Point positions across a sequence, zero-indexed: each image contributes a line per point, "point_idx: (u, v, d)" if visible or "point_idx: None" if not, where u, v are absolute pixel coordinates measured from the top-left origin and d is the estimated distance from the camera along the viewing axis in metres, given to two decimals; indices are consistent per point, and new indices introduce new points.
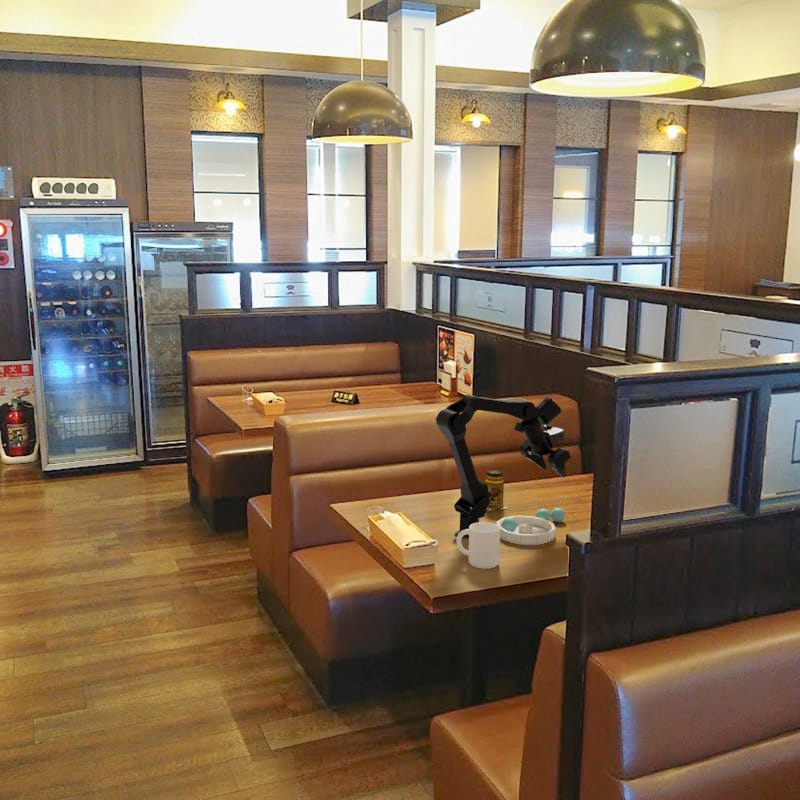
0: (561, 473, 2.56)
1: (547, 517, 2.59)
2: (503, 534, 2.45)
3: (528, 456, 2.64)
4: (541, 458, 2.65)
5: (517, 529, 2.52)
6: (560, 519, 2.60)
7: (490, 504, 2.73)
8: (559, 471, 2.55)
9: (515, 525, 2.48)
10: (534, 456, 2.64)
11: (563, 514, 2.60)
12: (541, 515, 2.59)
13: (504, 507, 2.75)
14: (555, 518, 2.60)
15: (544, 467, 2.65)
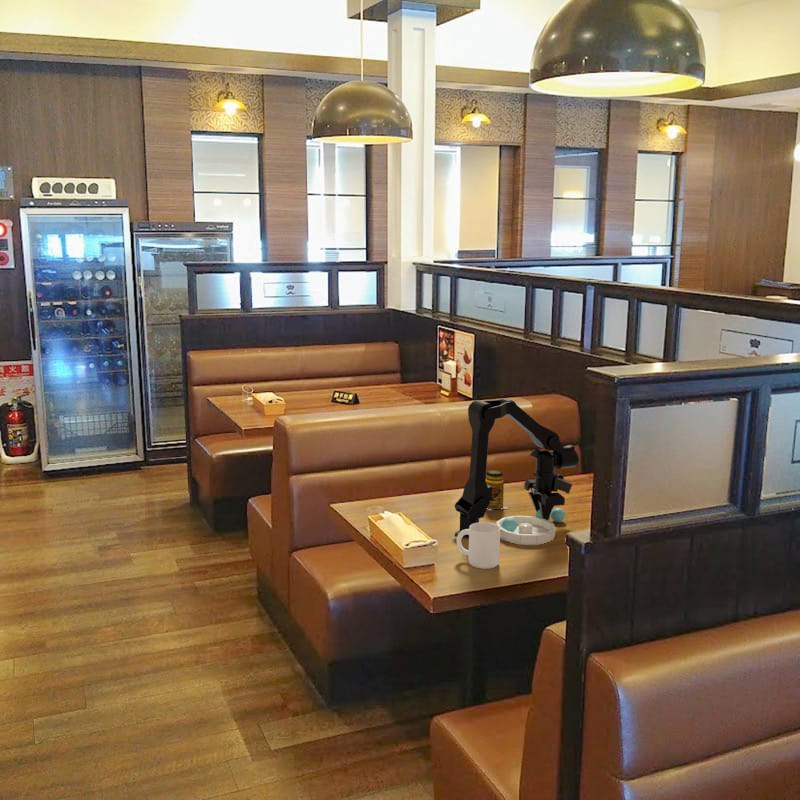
0: (544, 515, 2.57)
1: None
2: (503, 534, 2.45)
3: (531, 494, 2.62)
4: None
5: (517, 529, 2.52)
6: (560, 519, 2.60)
7: (490, 504, 2.73)
8: (543, 511, 2.56)
9: (515, 525, 2.48)
10: (536, 497, 2.62)
11: (563, 514, 2.60)
12: (541, 515, 2.59)
13: (504, 507, 2.75)
14: (555, 518, 2.60)
15: None
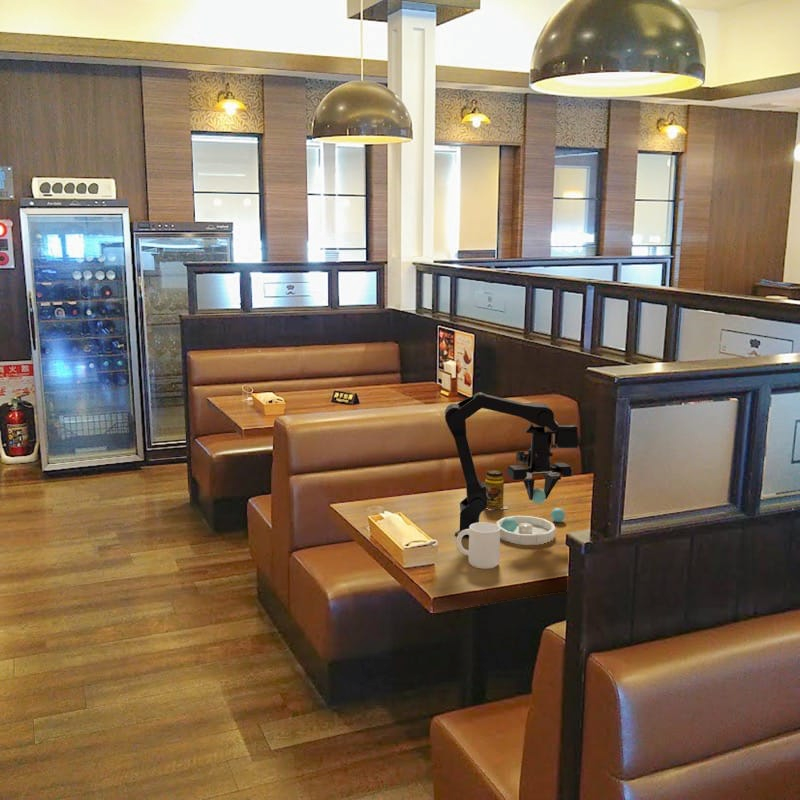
0: None
1: None
2: (503, 534, 2.45)
3: (531, 479, 2.43)
4: None
5: (517, 529, 2.52)
6: (560, 519, 2.60)
7: (490, 504, 2.73)
8: None
9: (515, 525, 2.48)
10: None
11: (563, 514, 2.60)
12: (545, 494, 2.46)
13: (504, 507, 2.75)
14: (555, 518, 2.60)
15: None
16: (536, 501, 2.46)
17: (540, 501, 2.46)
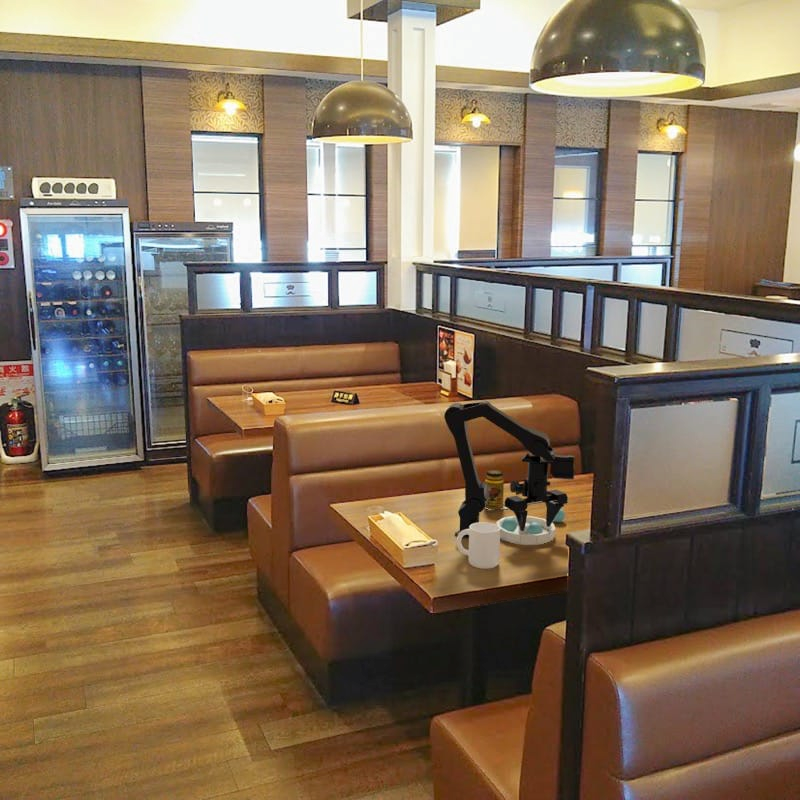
0: None
1: None
2: (503, 534, 2.45)
3: (524, 511, 2.39)
4: None
5: (517, 529, 2.52)
6: (560, 519, 2.60)
7: (490, 504, 2.73)
8: None
9: (515, 525, 2.48)
10: None
11: (563, 514, 2.60)
12: (542, 528, 2.45)
13: (504, 507, 2.75)
14: (555, 518, 2.60)
15: None
16: None
17: None
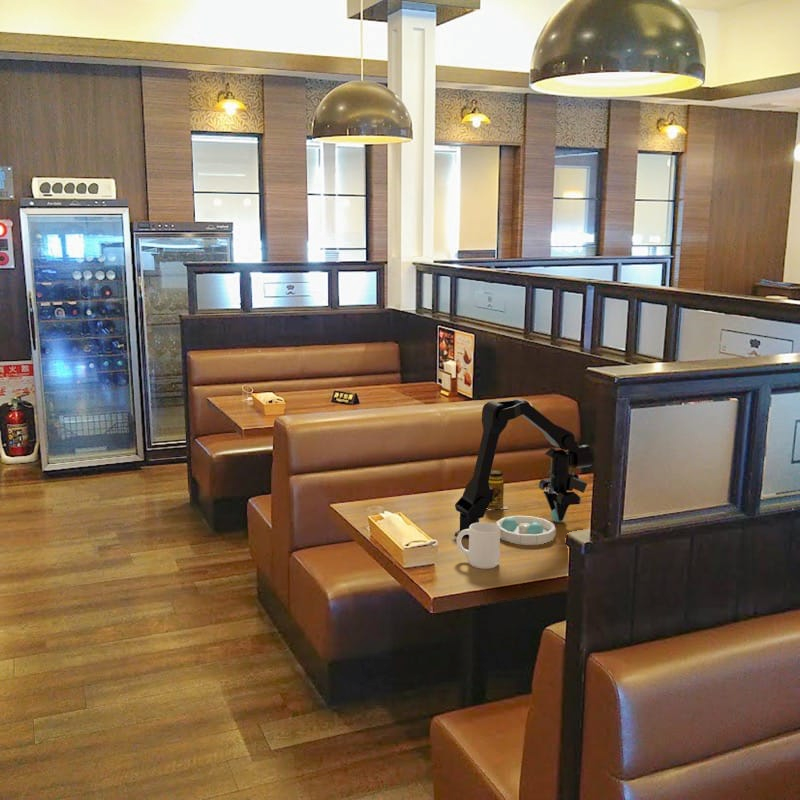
0: (559, 514, 2.58)
1: None
2: (503, 534, 2.45)
3: (546, 493, 2.63)
4: None
5: (517, 529, 2.52)
6: None
7: (490, 504, 2.73)
8: (558, 510, 2.57)
9: (515, 525, 2.48)
10: (551, 496, 2.63)
11: None
12: None
13: (504, 507, 2.75)
14: (555, 518, 2.60)
15: None
16: None
17: None
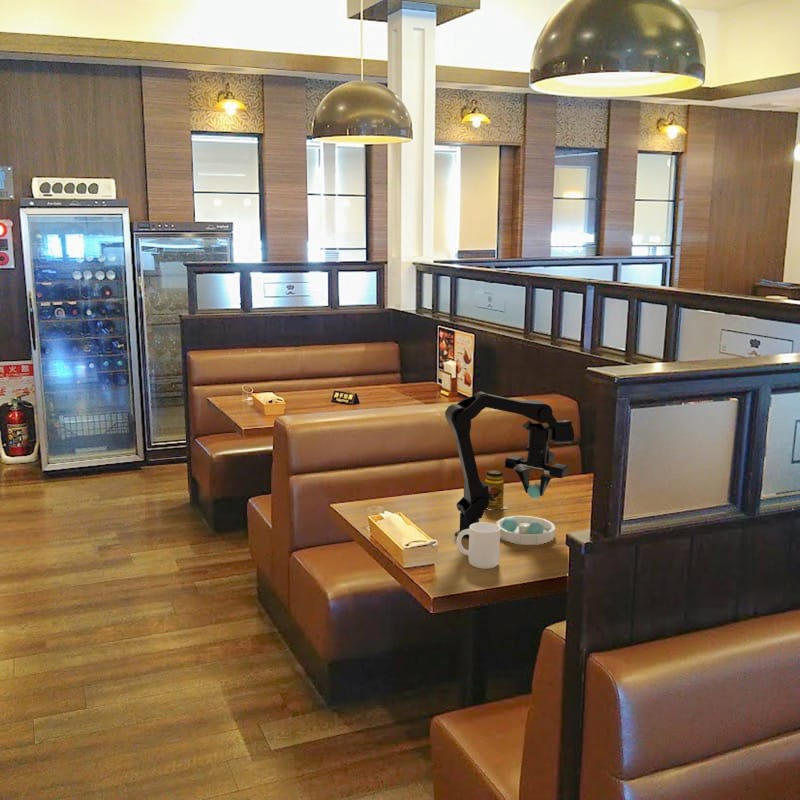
0: (543, 489, 2.50)
1: None
2: (503, 534, 2.45)
3: (520, 471, 2.51)
4: (528, 479, 2.54)
5: (517, 529, 2.52)
6: None
7: (490, 504, 2.73)
8: (544, 485, 2.49)
9: (515, 525, 2.48)
10: (525, 473, 2.52)
11: None
12: None
13: (504, 507, 2.75)
14: (537, 494, 2.51)
15: None
16: None
17: None
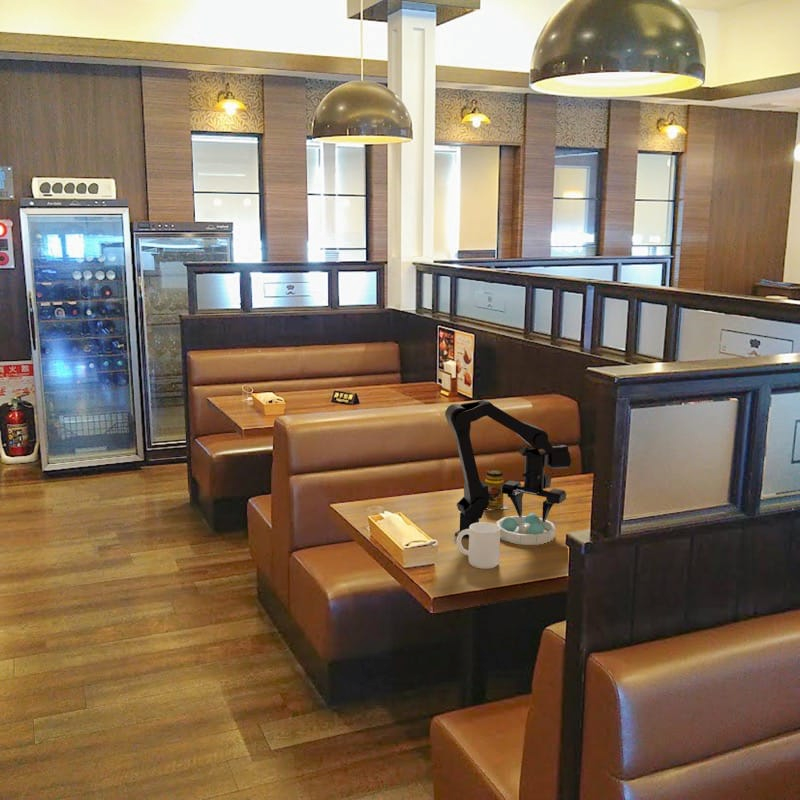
0: (546, 515, 2.50)
1: None
2: (503, 534, 2.45)
3: (513, 496, 2.53)
4: (521, 503, 2.55)
5: (517, 529, 2.52)
6: None
7: (490, 504, 2.73)
8: (546, 512, 2.49)
9: (515, 525, 2.48)
10: (518, 498, 2.54)
11: None
12: (543, 529, 2.45)
13: (504, 507, 2.75)
14: None
15: (520, 514, 2.55)
16: None
17: None
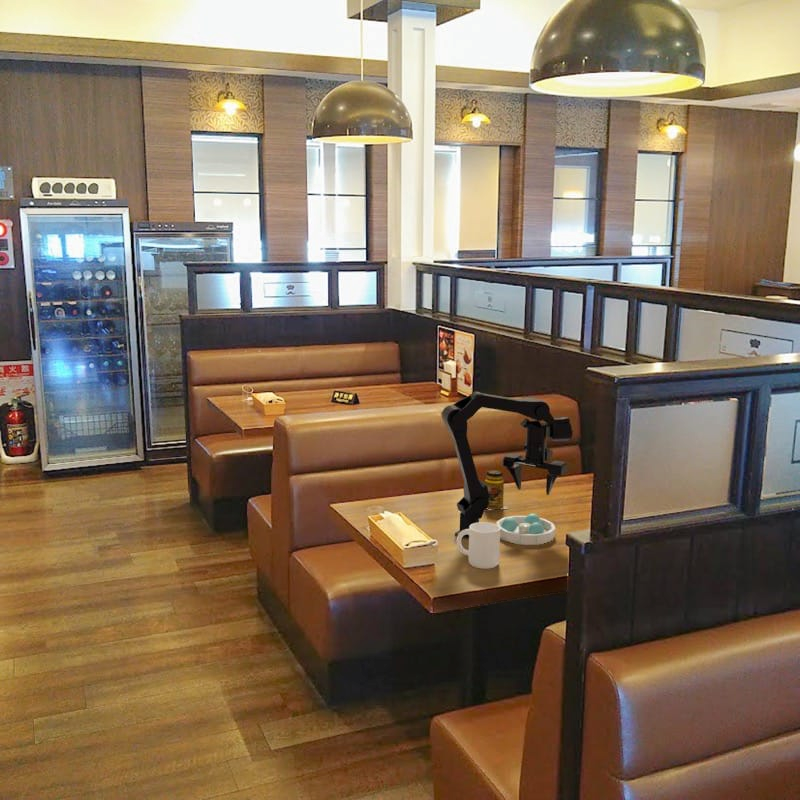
0: (549, 488, 2.48)
1: None
2: (503, 534, 2.45)
3: (512, 468, 2.52)
4: (520, 476, 2.54)
5: (517, 529, 2.52)
6: None
7: (490, 504, 2.73)
8: (550, 484, 2.47)
9: (515, 525, 2.48)
10: (517, 470, 2.52)
11: (539, 519, 2.53)
12: (543, 529, 2.45)
13: (504, 507, 2.75)
14: None
15: (519, 486, 2.54)
16: None
17: None
